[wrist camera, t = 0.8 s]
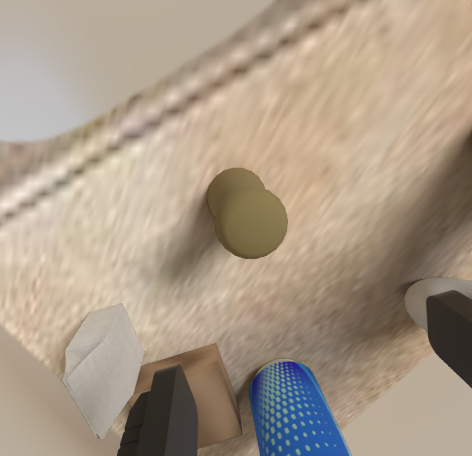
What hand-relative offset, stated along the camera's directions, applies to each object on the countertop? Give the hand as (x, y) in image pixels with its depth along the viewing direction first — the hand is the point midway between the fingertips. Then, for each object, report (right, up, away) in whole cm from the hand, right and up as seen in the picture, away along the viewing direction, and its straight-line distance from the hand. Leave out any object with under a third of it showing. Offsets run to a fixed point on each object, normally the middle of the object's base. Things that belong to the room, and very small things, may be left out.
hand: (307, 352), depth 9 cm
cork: (-2, +7, +21) cm, 22 cm away
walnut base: (-8, -16, +27) cm, 32 cm away
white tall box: (-16, -8, +24) cm, 29 cm away
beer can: (+3, -15, +28) cm, 32 cm away
